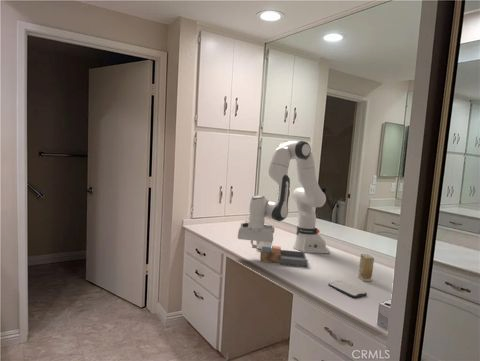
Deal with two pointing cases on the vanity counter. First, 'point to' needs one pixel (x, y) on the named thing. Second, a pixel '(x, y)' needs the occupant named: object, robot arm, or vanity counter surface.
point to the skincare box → (366, 267)
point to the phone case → (347, 290)
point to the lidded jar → (263, 244)
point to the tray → (293, 258)
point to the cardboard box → (270, 257)
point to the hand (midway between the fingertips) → (254, 248)
